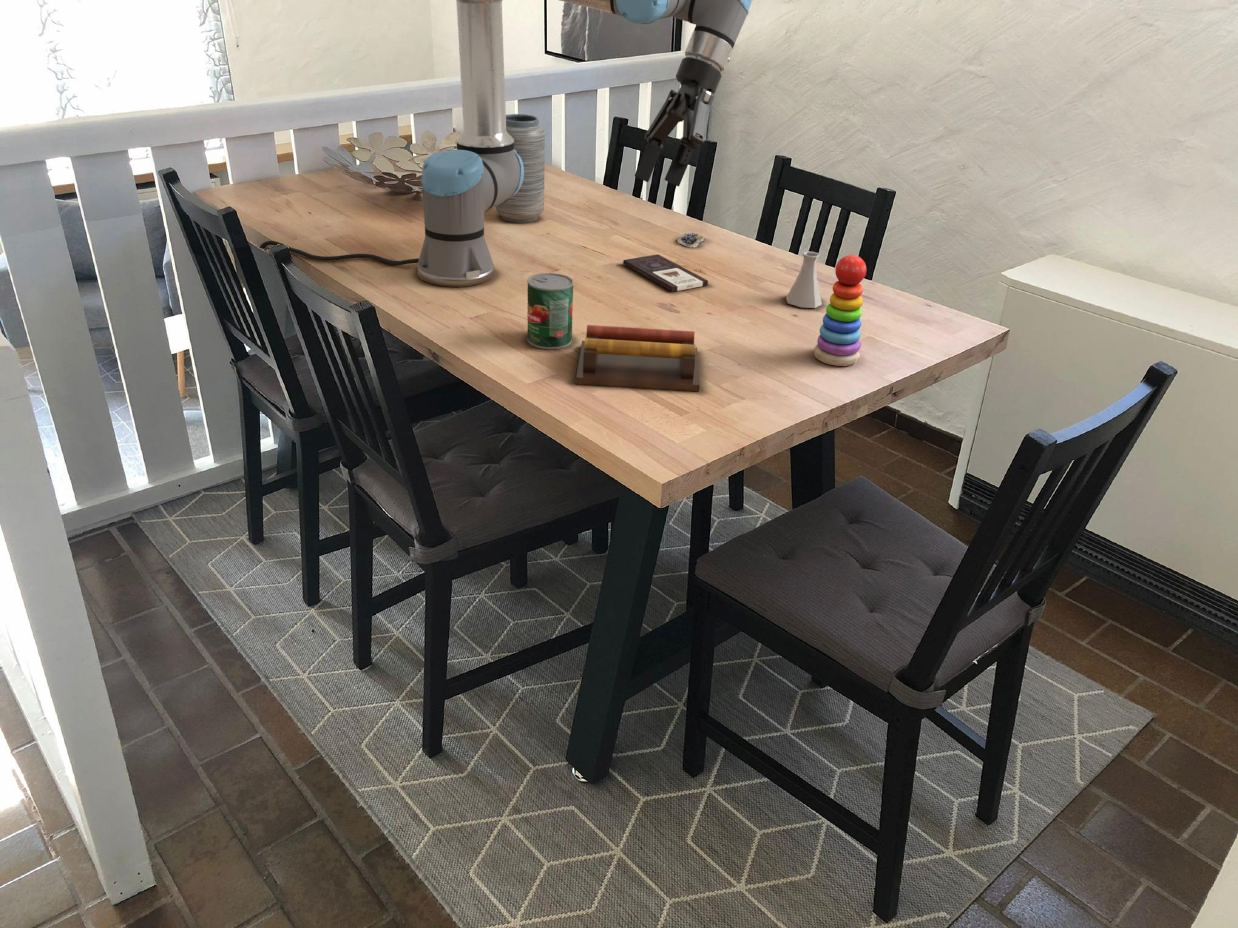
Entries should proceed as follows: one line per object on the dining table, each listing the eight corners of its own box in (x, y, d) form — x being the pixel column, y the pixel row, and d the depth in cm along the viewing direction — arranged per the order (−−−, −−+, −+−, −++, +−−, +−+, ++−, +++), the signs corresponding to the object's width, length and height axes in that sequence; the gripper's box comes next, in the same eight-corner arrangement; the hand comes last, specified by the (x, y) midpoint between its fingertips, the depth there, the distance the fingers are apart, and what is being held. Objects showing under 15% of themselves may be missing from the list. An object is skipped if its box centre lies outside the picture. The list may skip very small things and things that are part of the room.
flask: (824, 299, 198) (832, 251, 193) (818, 311, 192) (827, 262, 187) (789, 293, 200) (796, 245, 195) (782, 305, 194) (789, 256, 189)
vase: (524, 228, 228) (524, 125, 217) (485, 218, 234) (483, 117, 222) (553, 217, 237) (555, 118, 225) (514, 207, 242) (514, 110, 231)
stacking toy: (808, 348, 176) (824, 247, 167) (851, 349, 177) (870, 248, 167) (819, 367, 169) (837, 262, 160) (864, 368, 170) (884, 263, 161)
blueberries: (706, 238, 229) (707, 230, 228) (705, 249, 222) (706, 240, 221) (677, 236, 229) (678, 228, 228) (676, 246, 223) (676, 238, 222)
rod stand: (575, 384, 159) (576, 349, 156) (582, 346, 172) (583, 314, 169) (699, 391, 159) (702, 357, 156) (696, 353, 172) (699, 321, 169)
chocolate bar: (658, 254, 214) (708, 280, 201) (657, 258, 214) (707, 285, 201) (623, 260, 209) (672, 287, 197) (623, 264, 210) (671, 291, 197)
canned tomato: (580, 339, 175) (582, 280, 169) (554, 353, 169) (556, 292, 163) (544, 328, 178) (545, 269, 173) (517, 341, 172) (517, 281, 167)
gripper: (754, 71, 163) (703, 194, 166) (690, 77, 185) (646, 185, 188) (718, 50, 159) (667, 176, 163) (656, 59, 181) (612, 169, 185)
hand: (655, 181), depth 175 cm, fingers open, 13 cm apart
